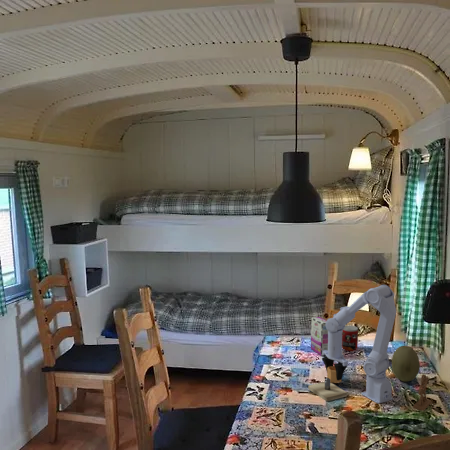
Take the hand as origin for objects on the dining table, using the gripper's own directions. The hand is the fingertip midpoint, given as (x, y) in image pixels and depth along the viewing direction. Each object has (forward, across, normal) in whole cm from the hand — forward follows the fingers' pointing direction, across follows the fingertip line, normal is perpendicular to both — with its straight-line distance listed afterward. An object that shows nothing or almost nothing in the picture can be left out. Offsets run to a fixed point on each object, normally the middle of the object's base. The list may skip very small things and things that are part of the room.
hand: (334, 376), depth 203 cm
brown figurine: (+3, -32, -17) cm, 36 cm away
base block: (+2, -7, +9) cm, 12 cm away
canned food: (+2, +28, -32) cm, 43 cm away
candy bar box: (+2, +31, -16) cm, 35 cm away
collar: (+1, 0, 0) cm, 1 cm away
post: (+1, -7, +9) cm, 11 cm away
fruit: (+3, -12, -28) cm, 31 cm away
